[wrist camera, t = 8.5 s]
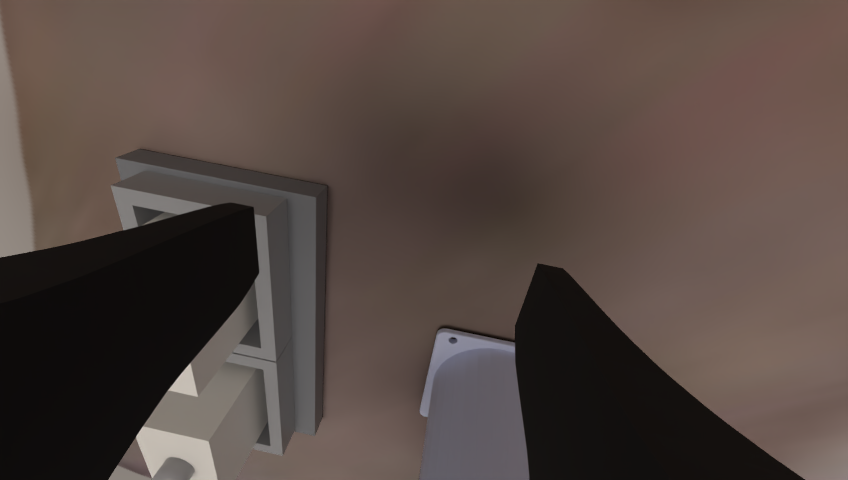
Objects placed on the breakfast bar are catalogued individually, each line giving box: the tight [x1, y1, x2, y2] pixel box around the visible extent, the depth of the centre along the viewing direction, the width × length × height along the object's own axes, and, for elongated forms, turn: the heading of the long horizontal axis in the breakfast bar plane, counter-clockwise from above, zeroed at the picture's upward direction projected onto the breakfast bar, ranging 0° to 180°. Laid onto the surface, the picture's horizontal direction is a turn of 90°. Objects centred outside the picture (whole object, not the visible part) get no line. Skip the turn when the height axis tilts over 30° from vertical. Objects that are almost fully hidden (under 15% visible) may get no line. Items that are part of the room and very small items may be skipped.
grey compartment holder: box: [111, 149, 327, 480], centre depth 21 cm, size 10×19×8 cm, turn 171°
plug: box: [144, 212, 258, 397], centre depth 18 cm, size 4×6×7 cm, turn 171°
